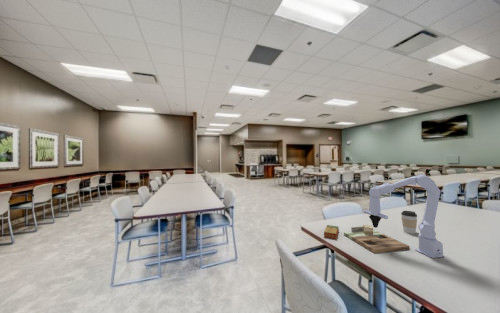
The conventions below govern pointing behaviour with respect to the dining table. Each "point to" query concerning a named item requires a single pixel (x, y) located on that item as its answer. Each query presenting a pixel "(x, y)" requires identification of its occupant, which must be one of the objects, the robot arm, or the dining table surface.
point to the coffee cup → (409, 221)
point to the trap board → (375, 241)
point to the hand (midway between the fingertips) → (375, 227)
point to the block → (368, 229)
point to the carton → (331, 232)
